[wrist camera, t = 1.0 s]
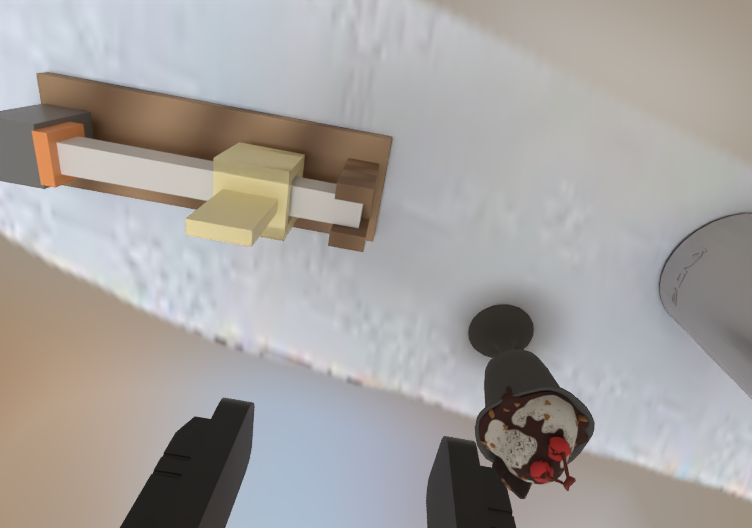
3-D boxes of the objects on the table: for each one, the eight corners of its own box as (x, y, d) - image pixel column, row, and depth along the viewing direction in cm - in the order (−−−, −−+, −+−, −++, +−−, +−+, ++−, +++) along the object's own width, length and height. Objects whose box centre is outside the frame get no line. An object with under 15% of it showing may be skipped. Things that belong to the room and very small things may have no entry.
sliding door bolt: (371, 163, 28) (365, 186, 24) (362, 216, 30) (355, 246, 25) (45, 103, 28) (-23, 115, 23) (54, 159, 29) (-8, 180, 25)
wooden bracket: (392, 136, 28) (389, 160, 23) (374, 235, 32) (367, 278, 26) (48, 72, 28) (-44, 80, 22) (64, 179, 31) (-13, 210, 25)
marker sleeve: (304, 154, 27) (265, 199, 19) (298, 216, 29) (260, 279, 21) (239, 142, 27) (173, 182, 19) (237, 204, 28) (176, 264, 21)
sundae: (524, 279, 32) (607, 447, 19) (557, 345, 35) (651, 535, 21) (442, 315, 34) (466, 491, 21) (479, 376, 37) (521, 568, 23)
